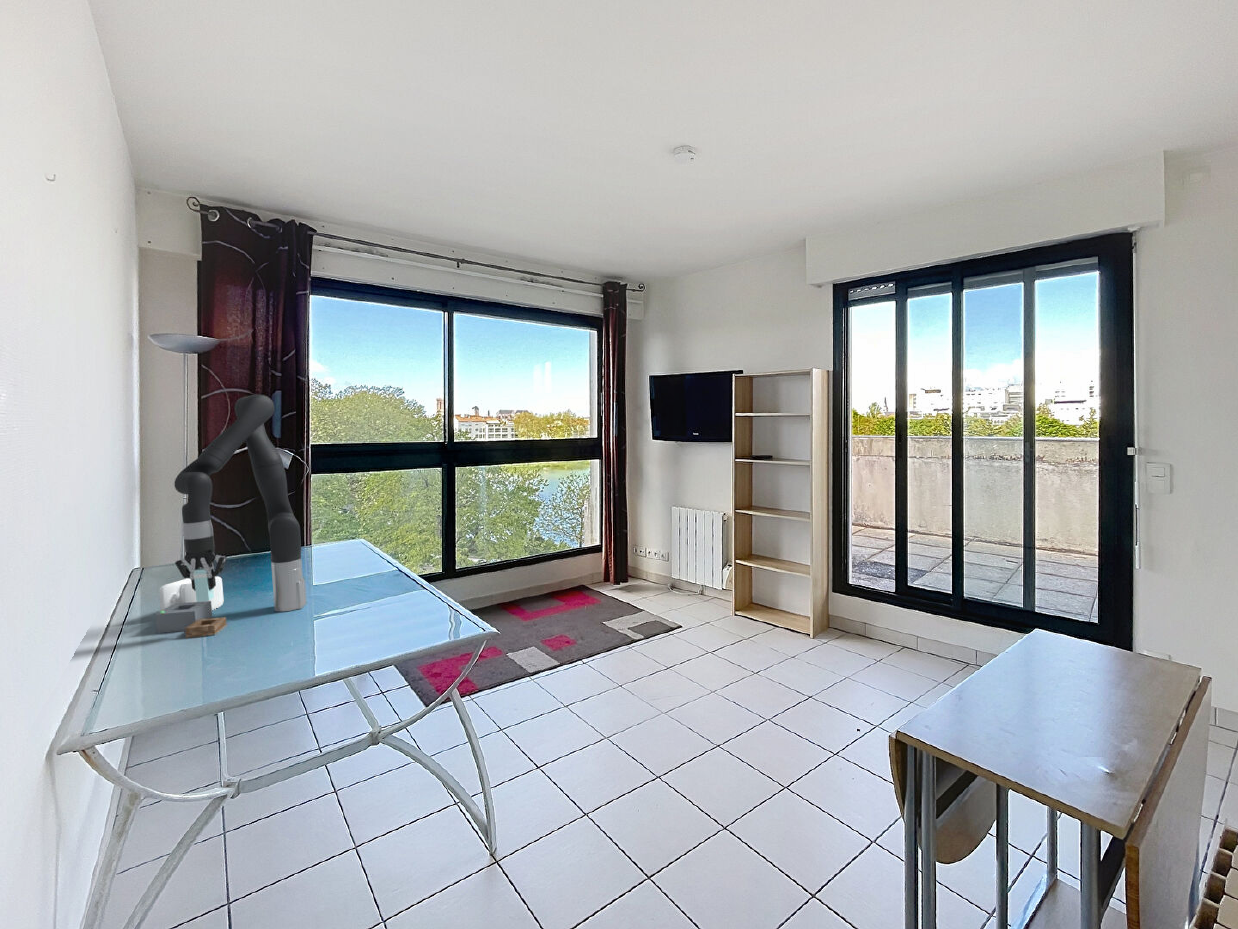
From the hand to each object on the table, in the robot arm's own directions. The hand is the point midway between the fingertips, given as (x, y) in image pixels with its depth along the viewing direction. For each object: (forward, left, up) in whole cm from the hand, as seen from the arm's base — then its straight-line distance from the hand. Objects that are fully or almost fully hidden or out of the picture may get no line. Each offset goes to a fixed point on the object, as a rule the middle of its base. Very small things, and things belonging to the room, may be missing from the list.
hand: (204, 589), depth 181 cm
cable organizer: (+14, -23, -14) cm, 31 cm away
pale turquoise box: (0, 0, -3) cm, 3 cm away
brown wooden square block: (0, 0, -14) cm, 14 cm away
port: (+10, -9, -14) cm, 19 cm away
